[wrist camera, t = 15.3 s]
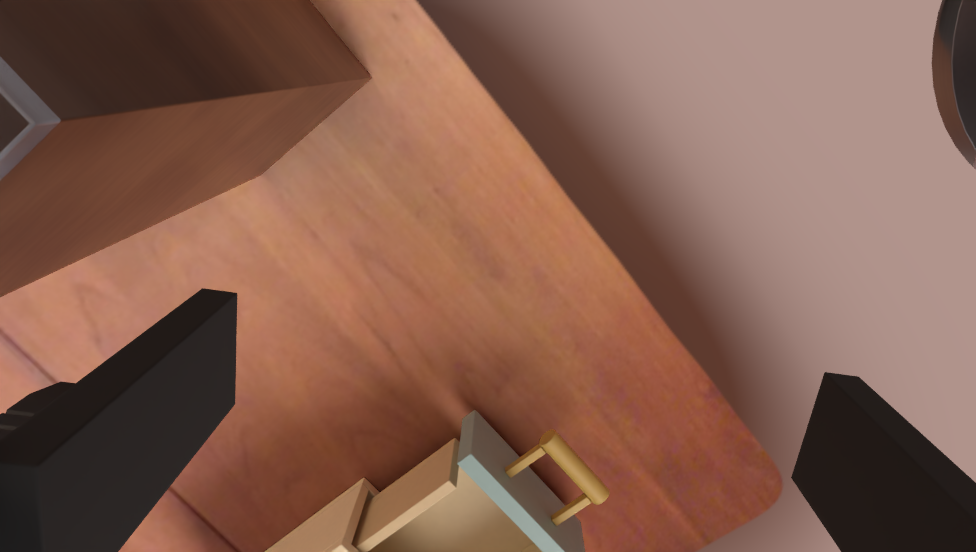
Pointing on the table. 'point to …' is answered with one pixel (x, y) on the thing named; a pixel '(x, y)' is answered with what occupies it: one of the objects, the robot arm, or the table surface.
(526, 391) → the table surface
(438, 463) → the drawer
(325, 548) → the cabinet
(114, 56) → the stand
